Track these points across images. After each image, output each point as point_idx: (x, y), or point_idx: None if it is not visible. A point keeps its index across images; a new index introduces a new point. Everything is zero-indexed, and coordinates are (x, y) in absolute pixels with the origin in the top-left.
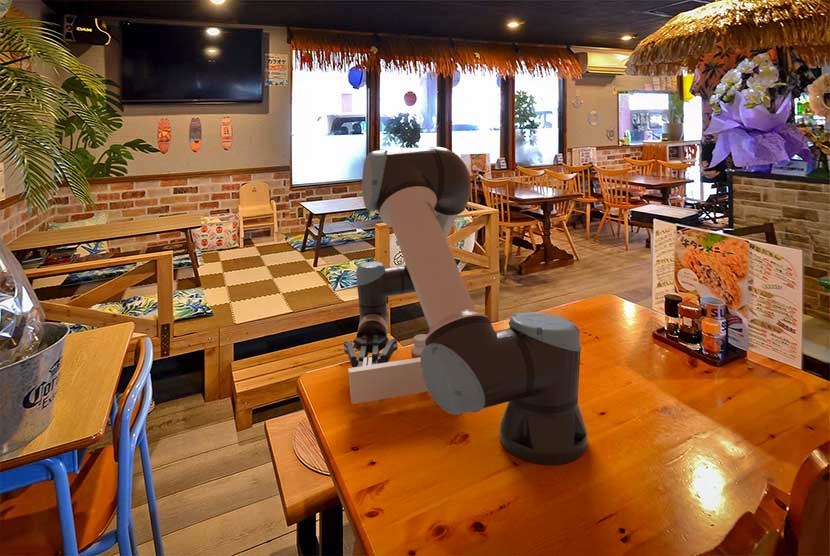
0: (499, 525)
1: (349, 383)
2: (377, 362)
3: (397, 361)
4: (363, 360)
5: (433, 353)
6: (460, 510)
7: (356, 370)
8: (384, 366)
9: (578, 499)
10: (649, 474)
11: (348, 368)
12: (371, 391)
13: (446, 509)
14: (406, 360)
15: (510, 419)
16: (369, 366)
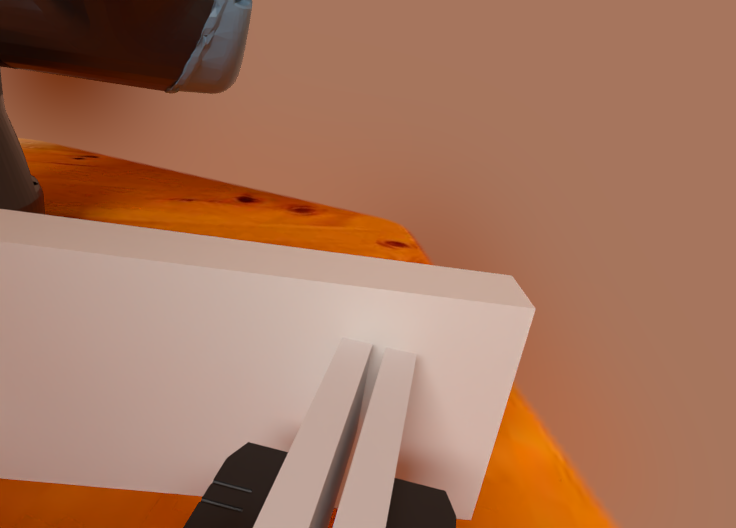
0: (217, 193)
1: (500, 416)
2: (190, 520)
3: (108, 250)
4: (384, 520)
5: None
6: (253, 212)
7: (462, 275)
8: (250, 245)
9: (67, 177)
10: None
11: (531, 308)
12: None
13: (274, 218)
14: (30, 236)
15: (8, 152)
16: (360, 277)
